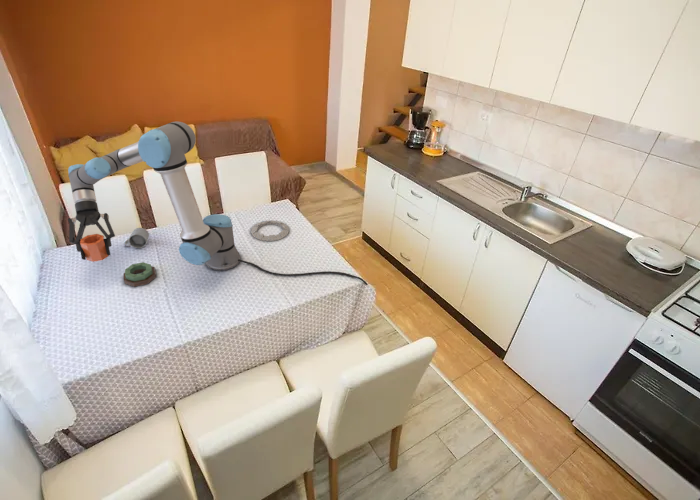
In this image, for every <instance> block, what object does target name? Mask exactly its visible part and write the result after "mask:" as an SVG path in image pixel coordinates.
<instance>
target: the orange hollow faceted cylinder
mask: <svg viewBox="0 0 700 500" xmlns="http://www.w3.org/2000/svg"><path fill="white" fill-rule="evenodd" d="M104 239H105V236H104V234H103V235H102V234H99V233H93V234H87V235H86V236H84V237H82V239H81V241H80V244H81V247H82V249H83V252H84V254H85V257H86V261H89V262H92V263H95V262H100V261H103V260H105V259H107V258H108V257H109V256H108V255H107V252H106V247H105V242H104Z"/></svg>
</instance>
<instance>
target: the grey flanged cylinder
mask: <svg viewBox="0 0 700 500" xmlns="http://www.w3.org/2000/svg"><path fill="white" fill-rule="evenodd" d="M149 237H150V233H149V231H148V230H147V229H145V228H144V227H136V228H135V229H133V230H132V232H131V234H130V236H129V237H128V239H126V240H125V242H124V245H125V247H133V248H134V249H142V248H145V247H146V245H147V243H148V242H149V241H148V240H149Z"/></svg>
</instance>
